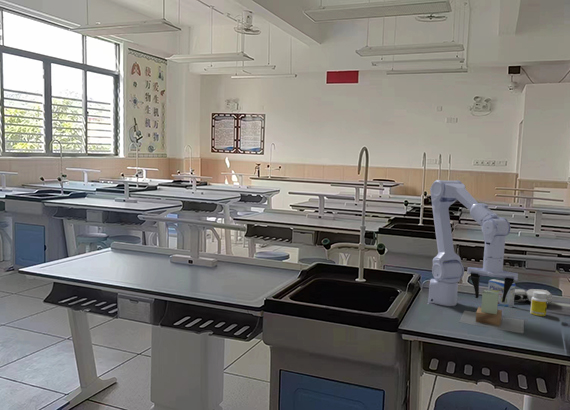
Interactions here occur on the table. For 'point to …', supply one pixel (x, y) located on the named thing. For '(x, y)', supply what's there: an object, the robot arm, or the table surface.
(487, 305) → the sage brick
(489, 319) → the walnut brick
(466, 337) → the table surface
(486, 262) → the robot arm
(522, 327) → the board
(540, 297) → the supplement bottle
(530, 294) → the robot toy
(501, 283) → the medicine box
